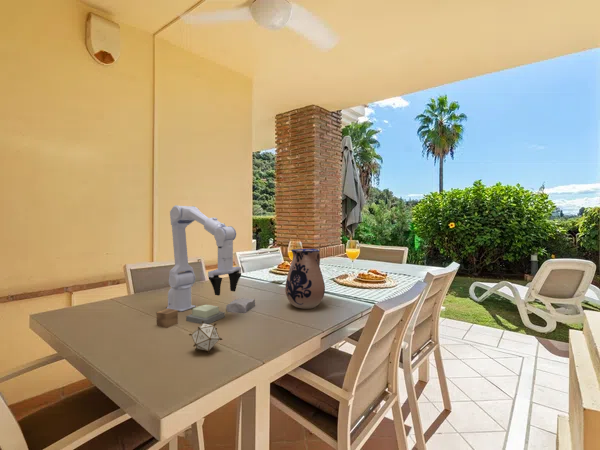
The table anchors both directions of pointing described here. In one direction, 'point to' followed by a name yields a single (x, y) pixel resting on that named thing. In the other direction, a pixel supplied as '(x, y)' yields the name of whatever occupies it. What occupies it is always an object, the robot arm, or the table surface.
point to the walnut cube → (167, 318)
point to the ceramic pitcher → (305, 279)
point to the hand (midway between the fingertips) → (225, 293)
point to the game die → (205, 337)
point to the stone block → (241, 305)
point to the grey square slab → (206, 320)
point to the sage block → (205, 311)
